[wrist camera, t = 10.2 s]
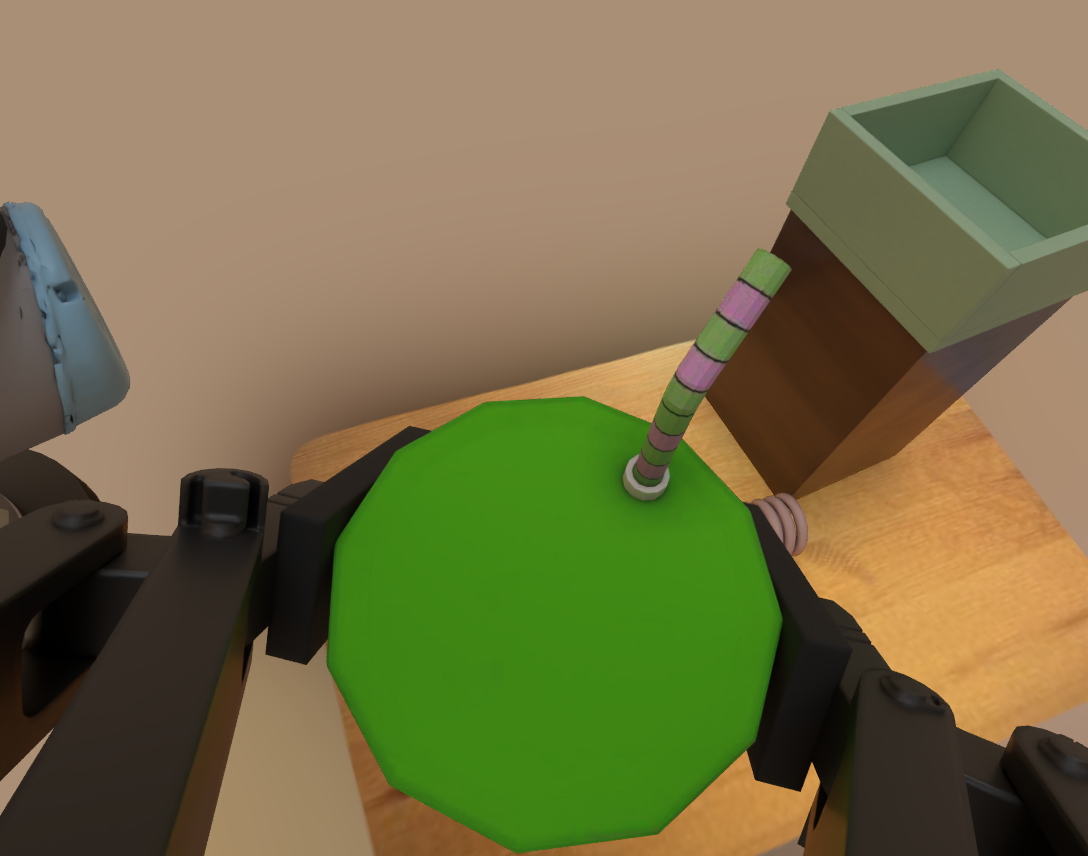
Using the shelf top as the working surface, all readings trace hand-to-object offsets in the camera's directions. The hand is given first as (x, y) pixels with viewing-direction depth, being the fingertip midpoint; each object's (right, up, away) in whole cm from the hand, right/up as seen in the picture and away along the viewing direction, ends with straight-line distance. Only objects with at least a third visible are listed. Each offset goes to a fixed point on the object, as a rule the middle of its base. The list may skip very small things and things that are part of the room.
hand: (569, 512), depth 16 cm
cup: (-1, -6, +3) cm, 7 cm away
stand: (+21, +3, +37) cm, 43 cm away
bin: (+22, +13, +20) cm, 33 cm away
